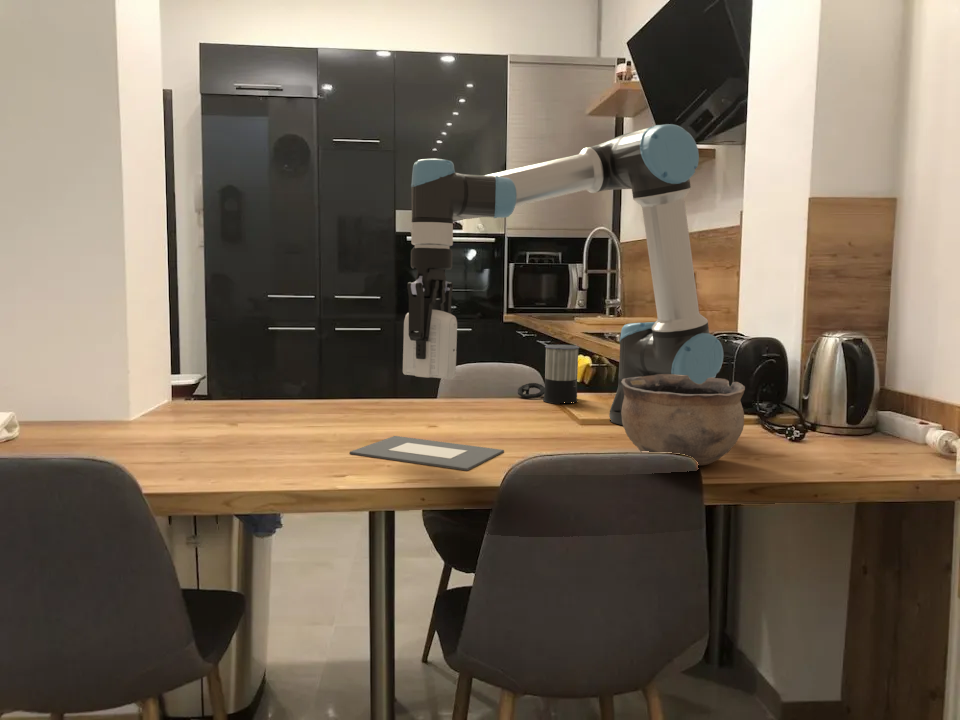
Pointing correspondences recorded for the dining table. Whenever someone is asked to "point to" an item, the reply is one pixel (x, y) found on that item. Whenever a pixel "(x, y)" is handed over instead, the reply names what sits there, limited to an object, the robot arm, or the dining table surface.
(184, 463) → the dining table surface
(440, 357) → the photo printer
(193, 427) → the dining table surface
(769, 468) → the dining table surface
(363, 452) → the mat
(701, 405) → the ceramic bowl
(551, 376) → the milk frother
